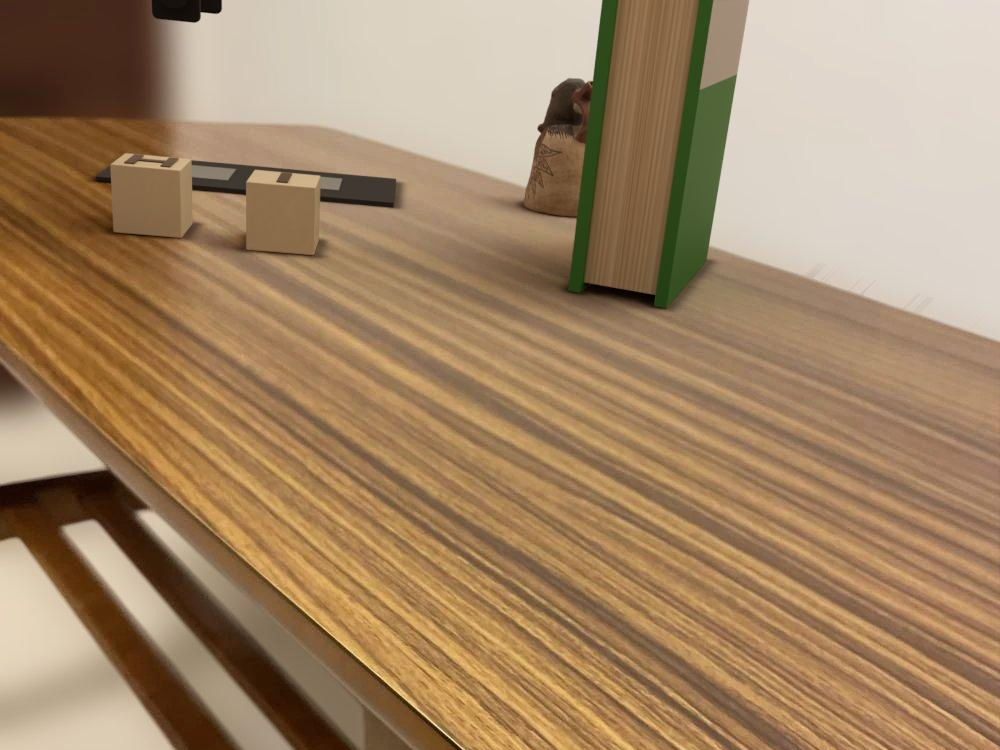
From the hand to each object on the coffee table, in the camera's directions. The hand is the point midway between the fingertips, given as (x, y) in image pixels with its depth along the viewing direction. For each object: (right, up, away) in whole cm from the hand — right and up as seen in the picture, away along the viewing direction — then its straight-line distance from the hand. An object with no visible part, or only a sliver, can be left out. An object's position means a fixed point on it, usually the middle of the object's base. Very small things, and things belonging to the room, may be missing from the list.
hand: (188, 15), depth 90 cm
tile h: (-4, -14, +5) cm, 16 cm away
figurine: (+28, -6, +29) cm, 41 cm away
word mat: (-1, -5, +25) cm, 26 cm away
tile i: (+6, -16, +5) cm, 17 cm away
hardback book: (+34, -17, +8) cm, 39 cm away
